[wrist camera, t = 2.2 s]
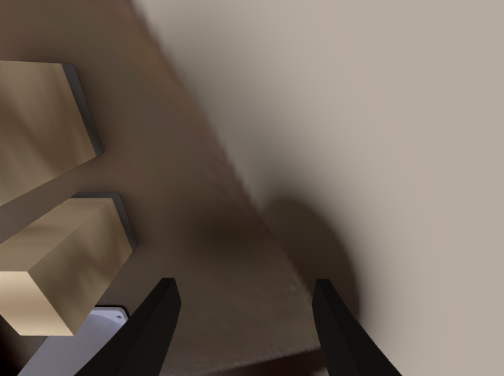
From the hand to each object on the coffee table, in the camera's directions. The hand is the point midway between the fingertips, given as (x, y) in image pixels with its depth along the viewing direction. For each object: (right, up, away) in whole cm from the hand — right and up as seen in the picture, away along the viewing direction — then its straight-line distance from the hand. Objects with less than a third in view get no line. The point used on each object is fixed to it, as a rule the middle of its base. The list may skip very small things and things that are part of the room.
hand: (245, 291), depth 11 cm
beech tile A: (-11, +3, +6) cm, 12 cm away
